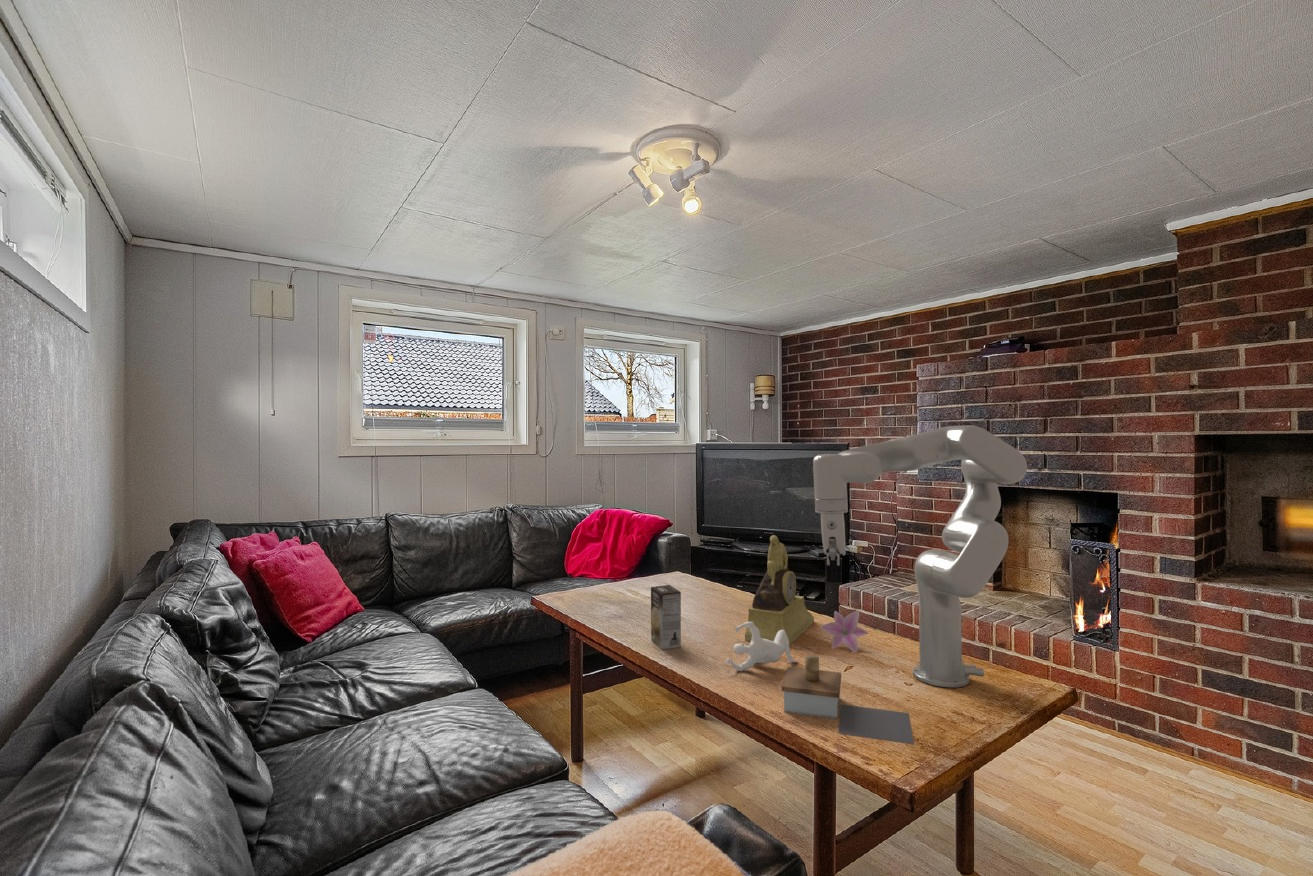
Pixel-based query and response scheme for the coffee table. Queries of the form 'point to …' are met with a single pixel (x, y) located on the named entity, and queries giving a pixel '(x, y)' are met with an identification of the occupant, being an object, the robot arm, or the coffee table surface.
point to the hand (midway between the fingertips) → (834, 577)
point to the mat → (875, 724)
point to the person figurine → (761, 648)
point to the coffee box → (666, 616)
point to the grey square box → (811, 704)
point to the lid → (812, 679)
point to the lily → (845, 630)
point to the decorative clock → (778, 600)
